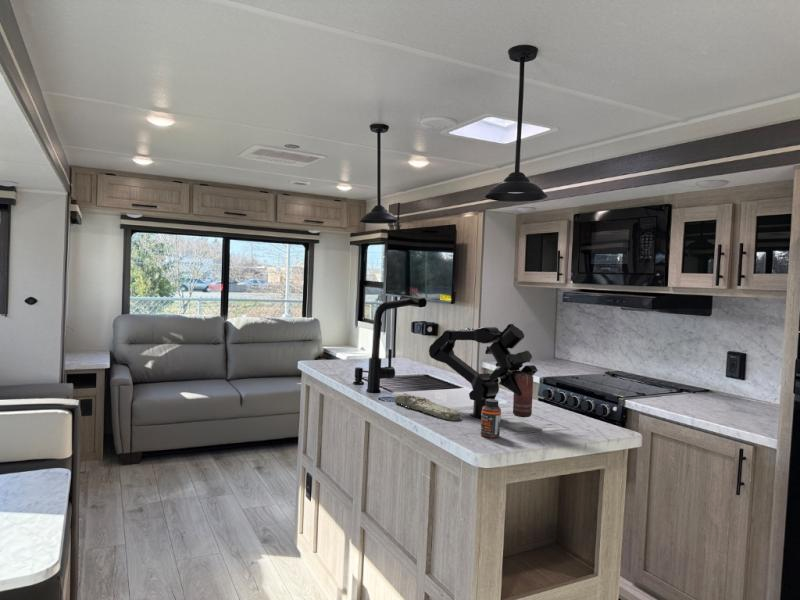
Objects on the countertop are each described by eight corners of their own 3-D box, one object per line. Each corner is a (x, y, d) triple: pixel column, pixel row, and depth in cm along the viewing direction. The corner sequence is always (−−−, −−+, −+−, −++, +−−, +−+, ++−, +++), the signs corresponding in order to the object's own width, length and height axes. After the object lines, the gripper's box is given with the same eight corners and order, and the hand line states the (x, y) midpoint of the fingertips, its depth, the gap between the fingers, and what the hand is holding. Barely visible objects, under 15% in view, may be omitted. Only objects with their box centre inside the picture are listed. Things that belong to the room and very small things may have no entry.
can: (518, 418, 187) (520, 376, 186) (509, 413, 193) (511, 372, 192) (535, 417, 189) (537, 375, 188) (525, 412, 195) (527, 371, 194)
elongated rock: (445, 426, 194) (466, 425, 200) (447, 411, 194) (468, 410, 200) (386, 401, 222) (406, 400, 228) (387, 388, 222) (408, 387, 228)
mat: (499, 424, 193) (499, 423, 193) (522, 422, 198) (523, 421, 198) (517, 432, 184) (517, 431, 184) (542, 430, 189) (542, 428, 189)
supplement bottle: (476, 436, 177) (478, 399, 177) (485, 432, 182) (487, 397, 182) (494, 439, 174) (496, 402, 174) (502, 436, 179) (504, 400, 179)
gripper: (497, 343, 187) (521, 382, 179) (535, 342, 199) (559, 378, 190) (479, 363, 194) (501, 402, 185) (516, 361, 205) (538, 397, 197)
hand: (526, 394), depth 189 cm, fingers closed on can, 5 cm apart
